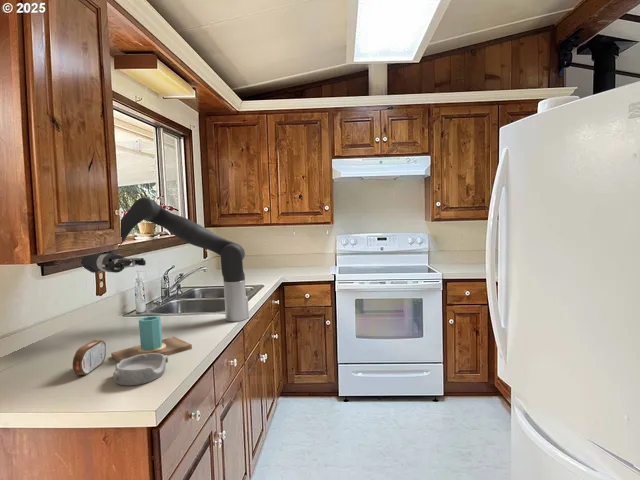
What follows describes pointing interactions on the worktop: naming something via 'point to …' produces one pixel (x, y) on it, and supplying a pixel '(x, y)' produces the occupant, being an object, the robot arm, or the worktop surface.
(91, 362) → the tin
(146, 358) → the dish
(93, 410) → the worktop surface
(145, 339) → the collar
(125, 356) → the post stand
